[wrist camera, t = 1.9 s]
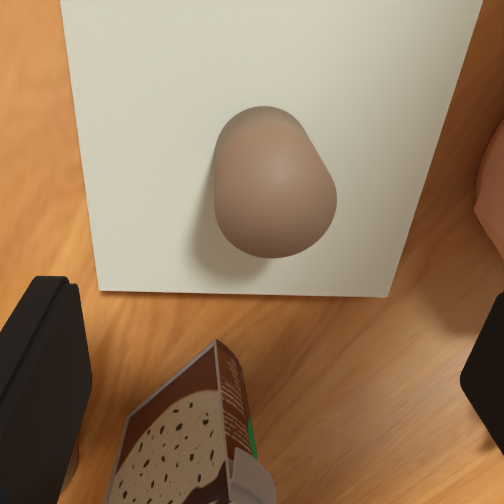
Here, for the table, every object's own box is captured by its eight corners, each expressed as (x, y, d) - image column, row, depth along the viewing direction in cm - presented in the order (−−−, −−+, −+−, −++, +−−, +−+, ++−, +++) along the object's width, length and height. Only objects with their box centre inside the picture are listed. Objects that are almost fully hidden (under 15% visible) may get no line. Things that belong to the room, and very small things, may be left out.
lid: (59, -86, 14) (-31, -124, 9) (478, -40, 16) (606, -49, 11) (104, 276, 22) (69, 366, 17) (380, 284, 24) (426, 369, 19)
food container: (184, 457, 32) (172, 624, 24) (114, 426, 30) (74, 601, 21) (301, 369, 28) (337, 536, 20) (231, 324, 26) (239, 494, 17)
